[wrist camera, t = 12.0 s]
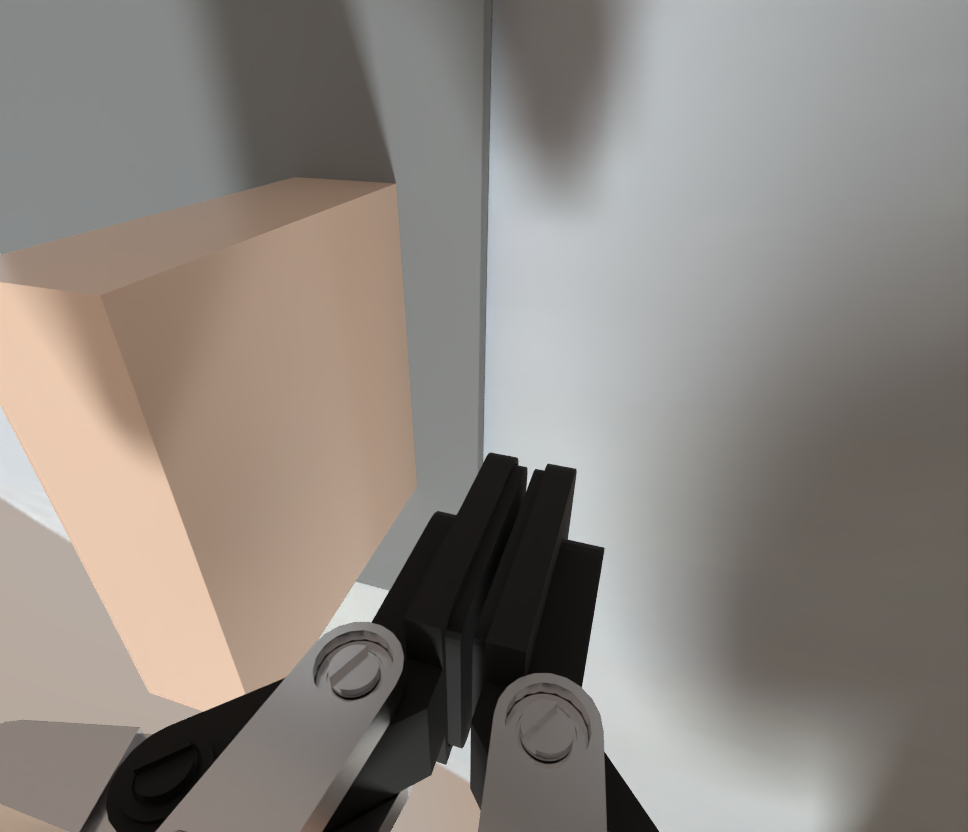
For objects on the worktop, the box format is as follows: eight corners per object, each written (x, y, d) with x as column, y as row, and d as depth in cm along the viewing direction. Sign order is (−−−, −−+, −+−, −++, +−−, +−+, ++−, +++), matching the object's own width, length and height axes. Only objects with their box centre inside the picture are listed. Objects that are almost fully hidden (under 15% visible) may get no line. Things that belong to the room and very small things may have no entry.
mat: (480, 601, 23) (475, 613, 22) (126, 510, 27) (115, 517, 27) (494, -139, 11) (486, -148, 11) (-128, -93, 16) (-154, -99, 15)
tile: (417, 486, 20) (258, 730, 12) (335, 469, 20) (140, 689, 13) (396, 183, 14) (100, 295, 7) (286, 176, 15) (-81, 271, 8)
